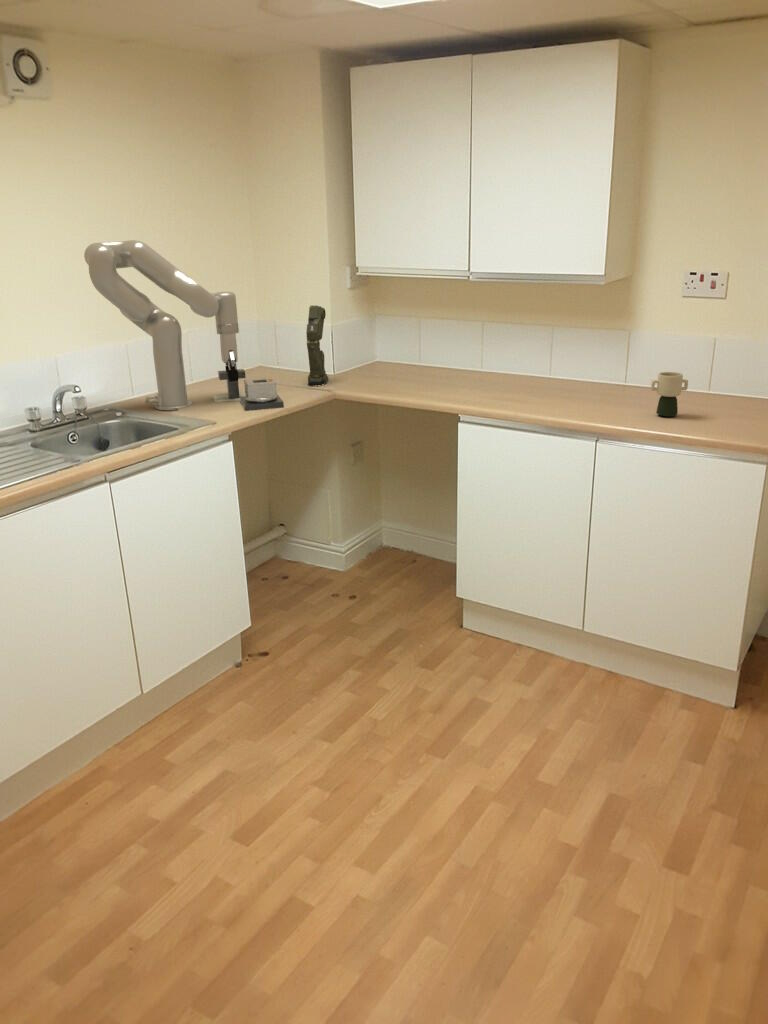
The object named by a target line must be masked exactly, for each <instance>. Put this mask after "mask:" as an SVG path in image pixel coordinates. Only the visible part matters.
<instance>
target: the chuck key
mask: <svg viewBox="0 0 768 1024" xmlns="http://www.w3.org/2000/svg"><path fill="white" fill-rule="evenodd" d="M237 370H238V381H232V382H230V381H229V375H228V370H226V369H225V370H218V371H217V374H218V375H217V376H218V379H219V381H224V380H226V387H227V395H228V397H229V399H235V398H240V397H239V394H240V388H239V379H246V377H247V376H246V370H245V369H244V368H242V369H237Z"/></svg>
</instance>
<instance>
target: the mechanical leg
mask: <svg viewBox="0 0 768 1024" xmlns="http://www.w3.org/2000/svg"><path fill="white" fill-rule="evenodd" d="M308 308H309V309H308V319H307V324H306V333H305V334H306V349H307V355H308V363H309V364H308V365H309V366H308V367H309V374H308V375H307V382H308V383H307V386H308V385H322V384H324V383H325V384H327V382H328V381H329V376H328V375H327V373H326V369H325V354H324V351H323V350H322V349H321V346H320V342H321V340H322V339H323V335H324V334H323V332H324V324H325V319H326V309H325V307H323V306H320V305H310V306H309V307H308ZM325 384H324V385H325ZM322 386H323V385H322Z"/></svg>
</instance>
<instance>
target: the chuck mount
mask: <svg viewBox="0 0 768 1024" xmlns="http://www.w3.org/2000/svg"><path fill="white" fill-rule="evenodd" d="M239 401H240V403H241V405H242V406H243V408H244V411H245V412H248V411H249V412H250V410H251V411H260V410H272V409H282V408H283V409H284V407H285V405H284V400H283V399H282V398H281V397H280V396H279V394H278V393H277V399H275V400H272V401H267V402H249V401H246V400H245V397H240V400H239Z"/></svg>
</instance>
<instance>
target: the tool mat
mask: <svg viewBox="0 0 768 1024" xmlns="http://www.w3.org/2000/svg"><path fill="white" fill-rule="evenodd" d="M245 396H246V394H245V393H239V397H245ZM212 397H213V398H212V399H213V400H214V402H215V403H221V402H234V401H236V402H237V401H240V398H235V399H229V397H228V394H226V395H224V394H223V395H214V396H213V395H212Z"/></svg>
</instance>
